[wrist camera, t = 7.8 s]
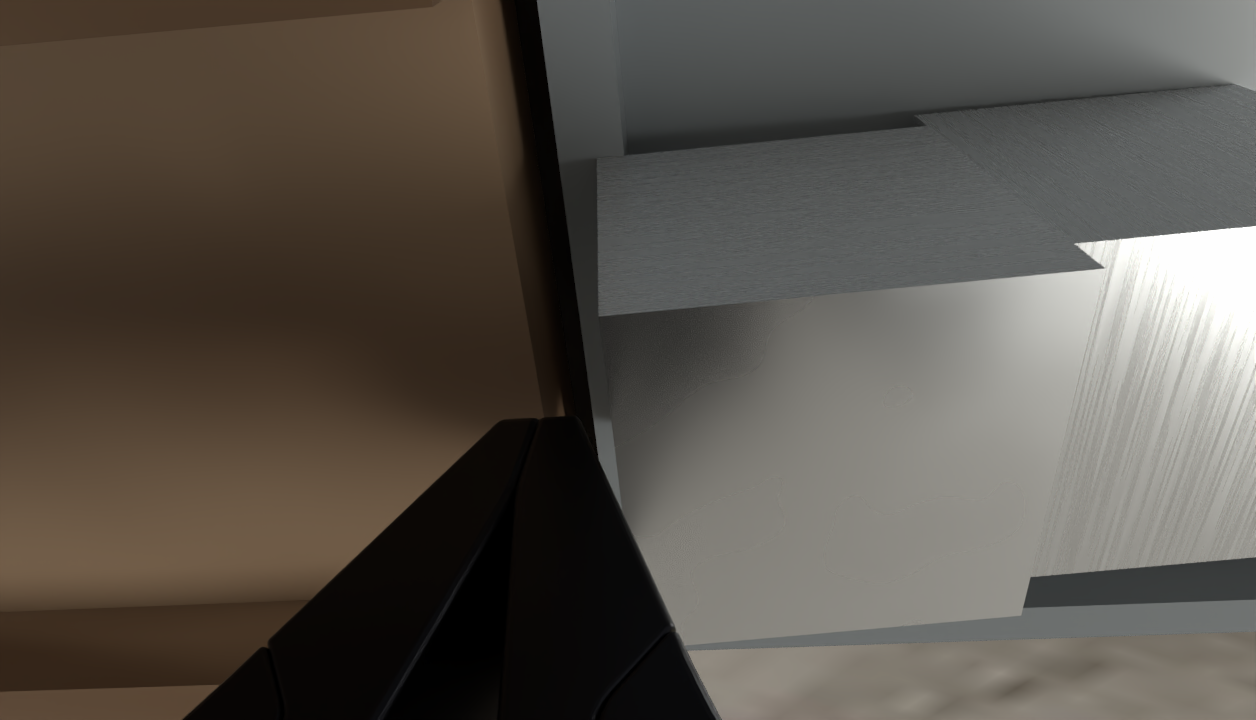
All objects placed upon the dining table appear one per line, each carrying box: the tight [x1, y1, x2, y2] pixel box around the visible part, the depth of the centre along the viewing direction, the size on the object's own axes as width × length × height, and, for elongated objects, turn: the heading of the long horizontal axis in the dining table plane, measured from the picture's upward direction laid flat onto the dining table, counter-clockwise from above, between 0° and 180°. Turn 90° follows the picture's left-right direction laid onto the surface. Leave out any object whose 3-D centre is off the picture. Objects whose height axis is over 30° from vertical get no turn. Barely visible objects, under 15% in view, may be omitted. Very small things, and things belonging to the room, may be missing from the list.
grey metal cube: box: [913, 84, 1256, 577], centre depth 10 cm, size 4×4×4 cm
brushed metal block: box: [597, 126, 1105, 646], centre depth 9 cm, size 4×4×4 cm
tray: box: [537, 0, 1256, 651], centre depth 11 cm, size 14×14×2 cm
